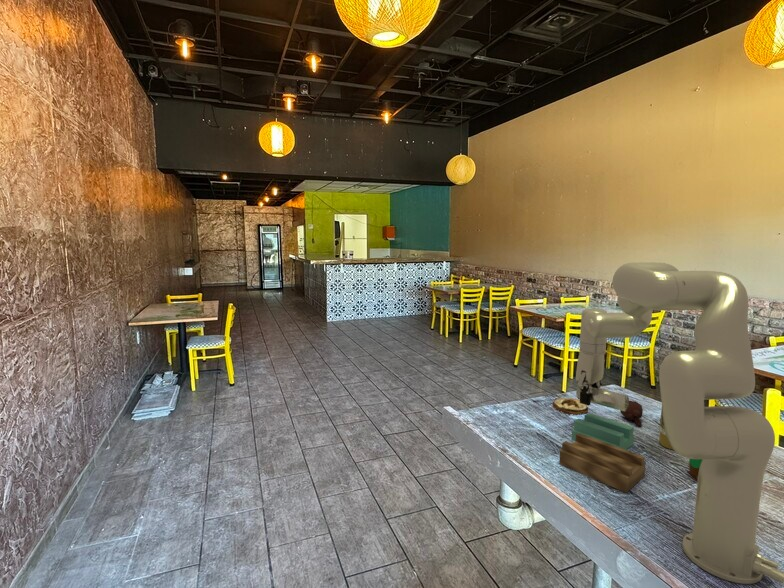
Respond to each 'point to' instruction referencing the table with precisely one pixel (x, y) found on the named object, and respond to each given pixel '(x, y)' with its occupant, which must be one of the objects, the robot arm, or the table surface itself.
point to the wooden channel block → (603, 462)
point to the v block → (604, 430)
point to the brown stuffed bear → (633, 412)
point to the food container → (694, 467)
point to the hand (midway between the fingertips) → (589, 401)
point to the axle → (607, 398)
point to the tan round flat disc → (570, 406)
